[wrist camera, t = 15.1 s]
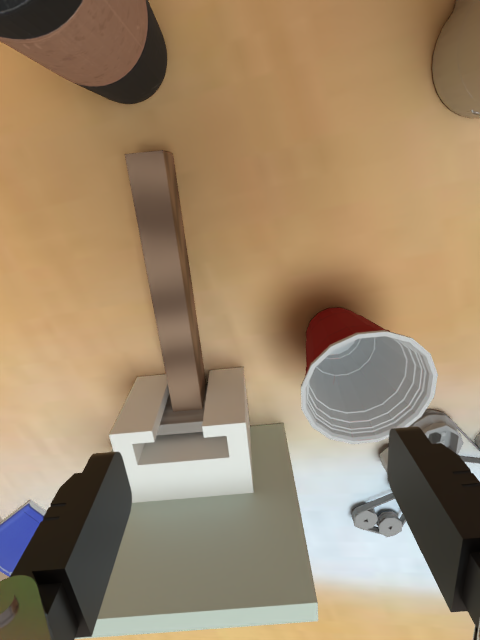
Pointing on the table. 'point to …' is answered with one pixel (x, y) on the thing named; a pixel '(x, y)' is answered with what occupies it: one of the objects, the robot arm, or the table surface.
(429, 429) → the pulley system
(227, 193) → the table surface
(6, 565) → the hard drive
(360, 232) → the table surface
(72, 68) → the travel mug
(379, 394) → the plastic cup
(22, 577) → the robot arm
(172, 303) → the post on square base
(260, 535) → the grey upright panel
